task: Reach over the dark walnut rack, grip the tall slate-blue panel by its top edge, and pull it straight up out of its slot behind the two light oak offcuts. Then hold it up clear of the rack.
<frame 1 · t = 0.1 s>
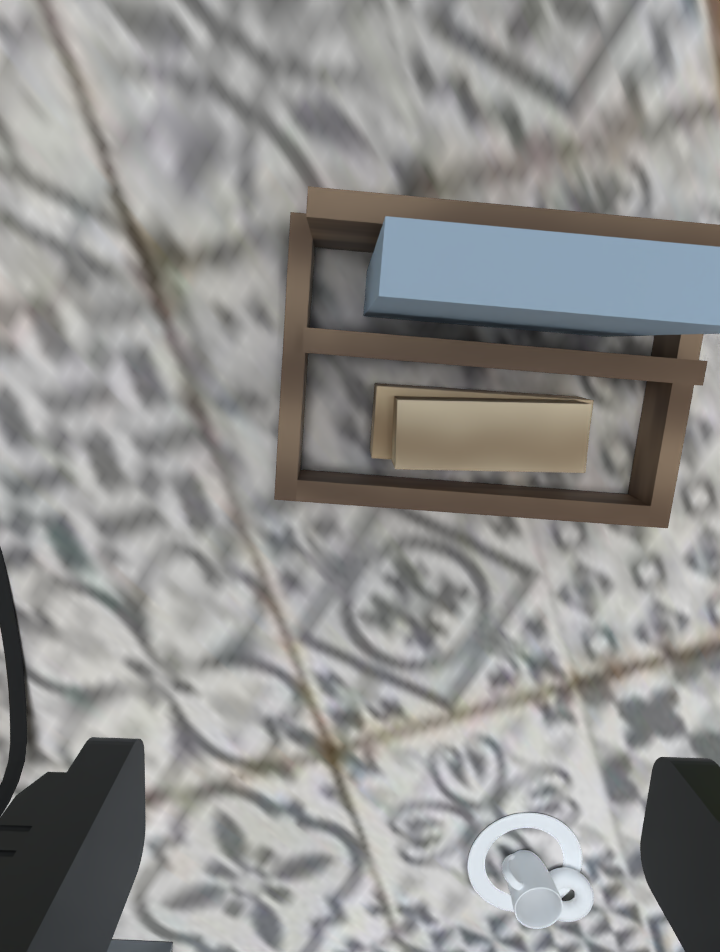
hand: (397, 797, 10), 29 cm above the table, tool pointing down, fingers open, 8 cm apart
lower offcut: (471, 422, 39), on the table
upper offcut: (482, 430, 36), point 3 cm above the table
teacup and saucer: (514, 892, 46), on the table
rack: (478, 373, 38), on the table
tall panel: (486, 304, 37), on the table
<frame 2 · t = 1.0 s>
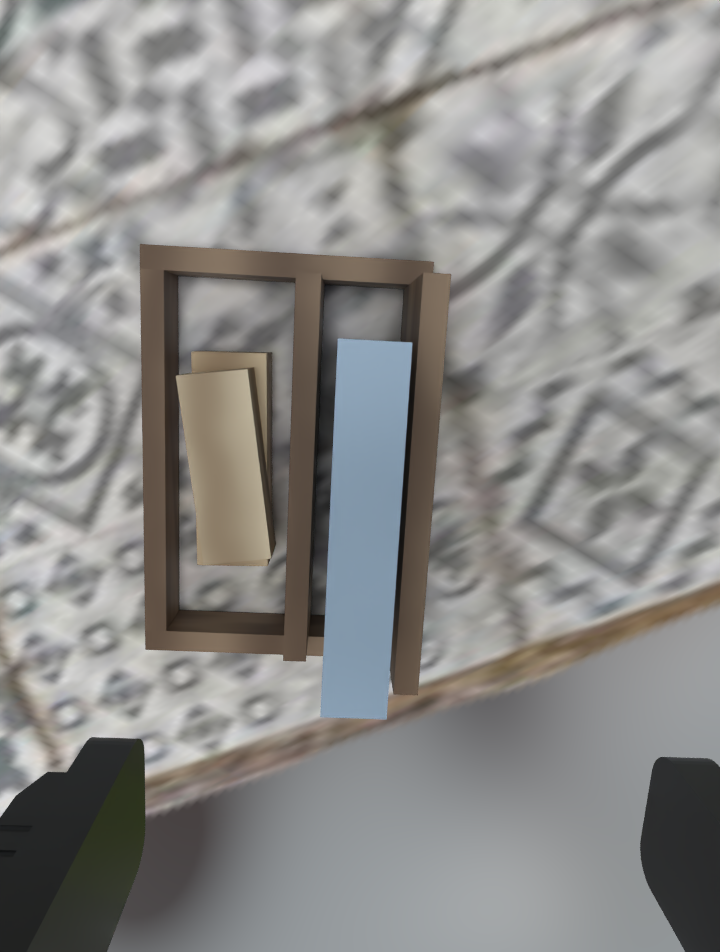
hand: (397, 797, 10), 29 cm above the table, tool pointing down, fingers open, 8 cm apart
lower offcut: (239, 453, 39), on the table, touching upper offcut
upper offcut: (232, 461, 36), point 3 cm above the table, touching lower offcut
rack: (288, 457, 38), on the table
tall panel: (355, 460, 39), on the table
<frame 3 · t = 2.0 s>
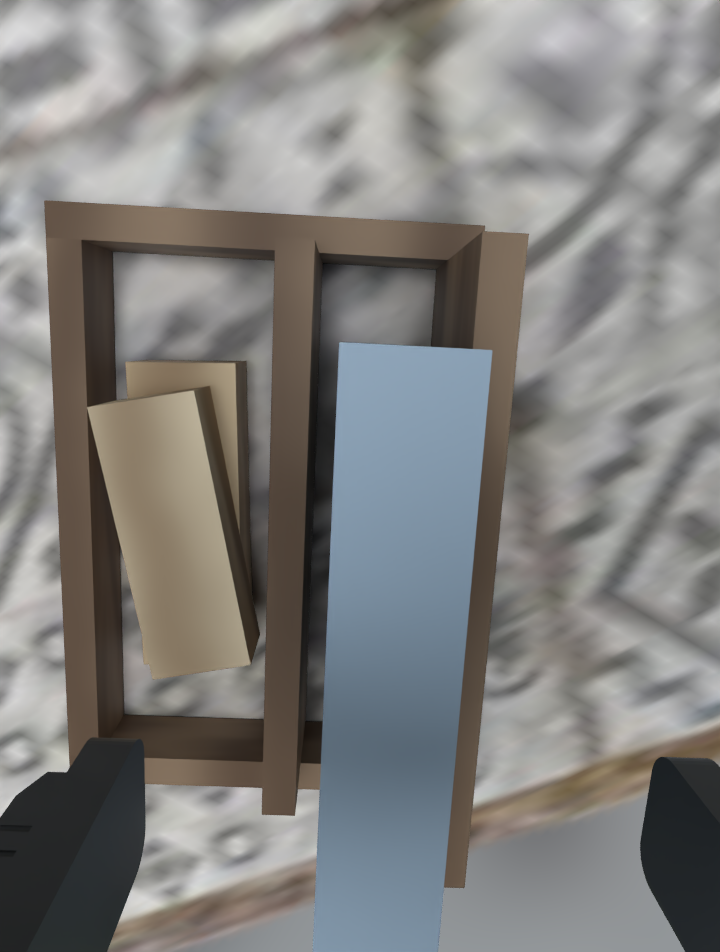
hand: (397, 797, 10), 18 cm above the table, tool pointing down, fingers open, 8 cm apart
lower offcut: (204, 502, 28), on the table, touching upper offcut
upper offcut: (189, 522, 25), point 3 cm above the table, touching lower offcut
rack: (273, 507, 27), on the table
tall panel: (366, 511, 28), on the table
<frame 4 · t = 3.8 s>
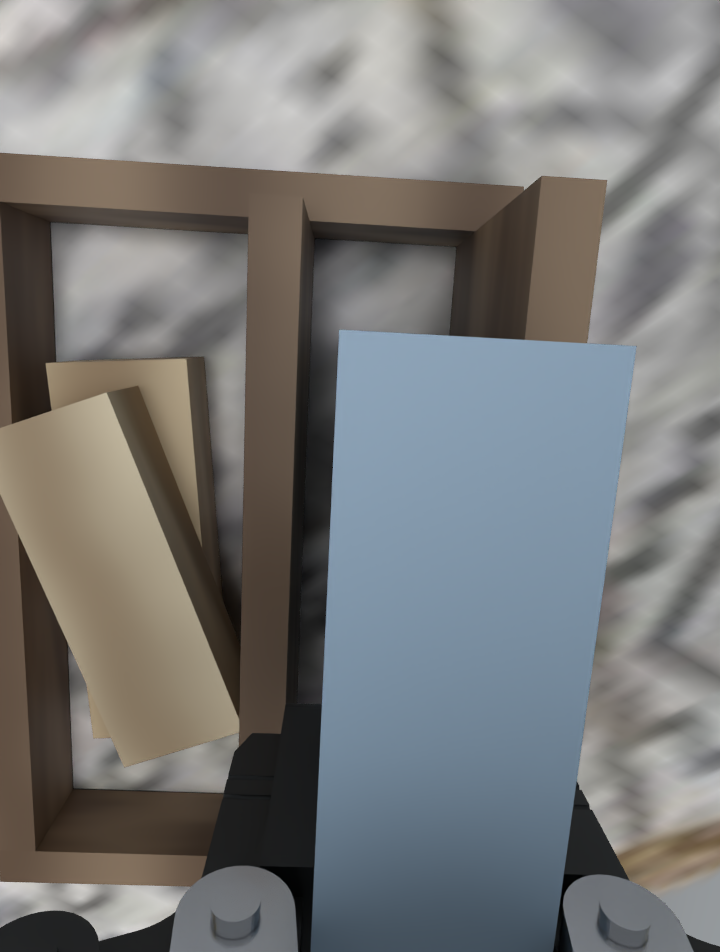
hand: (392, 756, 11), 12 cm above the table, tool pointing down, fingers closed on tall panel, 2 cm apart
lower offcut: (163, 531, 23), on the table, touching upper offcut
upper offcut: (144, 560, 20), point 2 cm above the table, touching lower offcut
rack: (253, 540, 22), on the table
tall panel: (368, 545, 22), on the table, touching gripper
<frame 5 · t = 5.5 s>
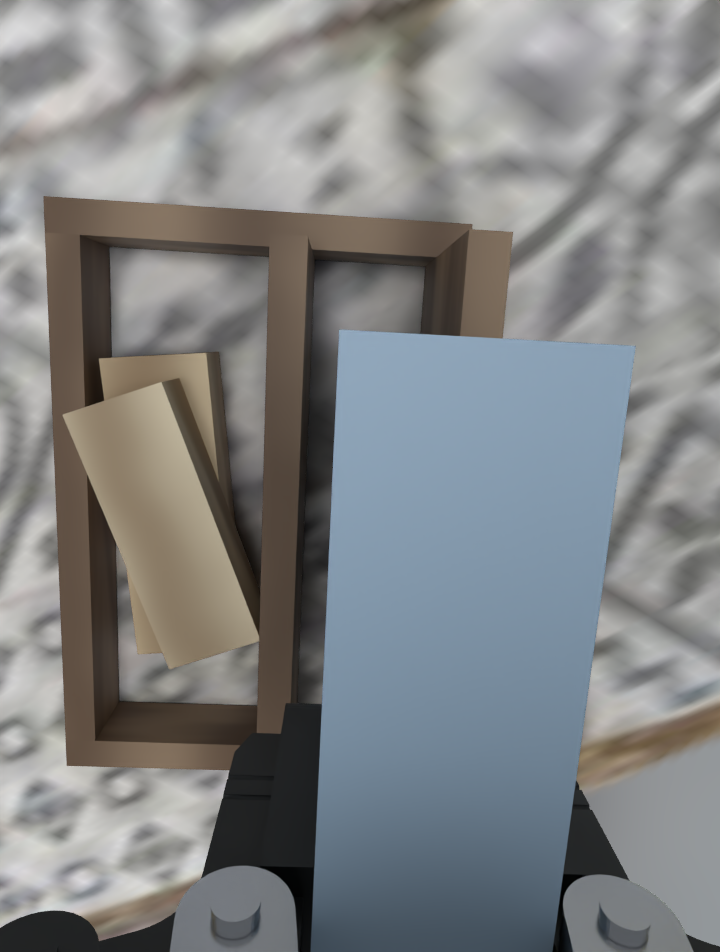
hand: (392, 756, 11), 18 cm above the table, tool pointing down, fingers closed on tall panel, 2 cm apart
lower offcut: (187, 493, 28), on the table, touching upper offcut
upper offcut: (182, 514, 25), point 3 cm above the table, touching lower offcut
rack: (266, 497, 28), on the table
tall panel: (368, 545, 22), point 6 cm above the table, touching gripper
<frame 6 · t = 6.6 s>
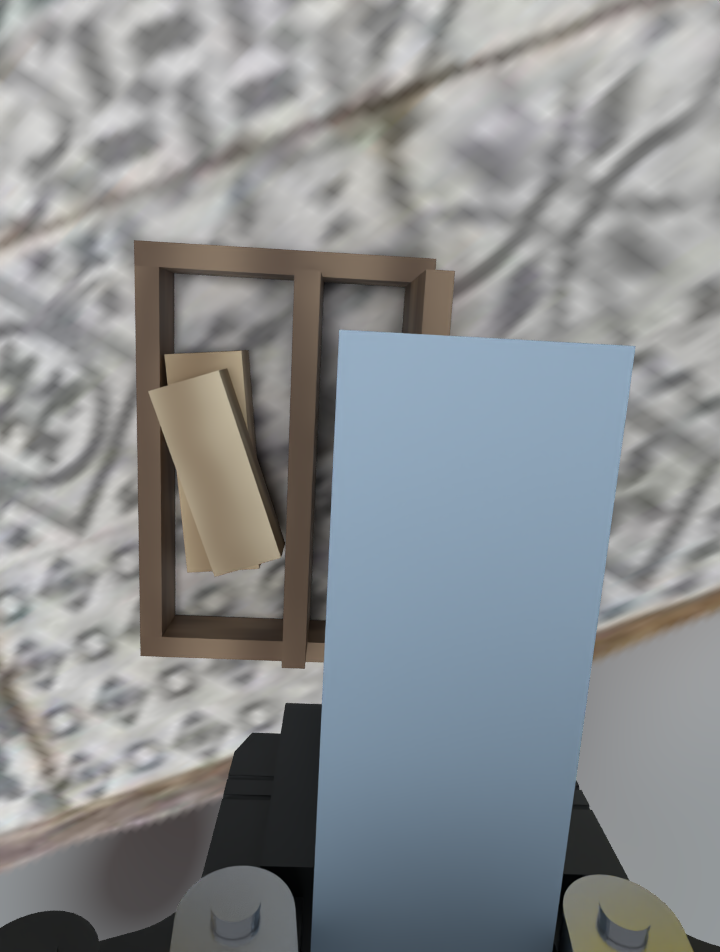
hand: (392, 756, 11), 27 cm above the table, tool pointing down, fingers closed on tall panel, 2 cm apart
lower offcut: (223, 455, 38), on the table
upper offcut: (225, 467, 35), point 3 cm above the table
rack: (287, 458, 38), on the table
tall panel: (367, 545, 22), point 16 cm above the table, touching gripper
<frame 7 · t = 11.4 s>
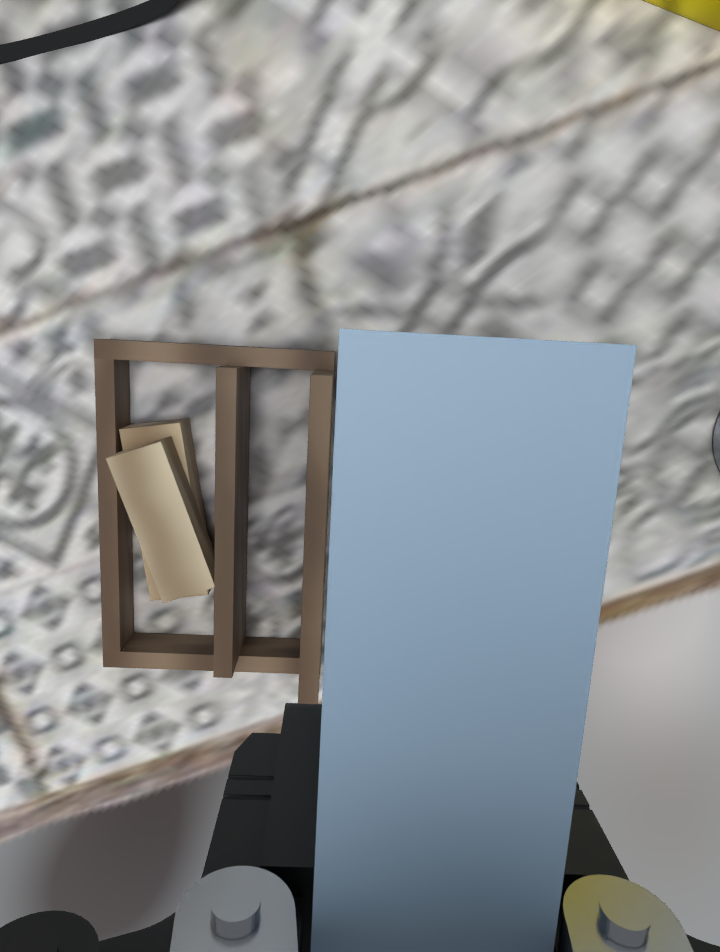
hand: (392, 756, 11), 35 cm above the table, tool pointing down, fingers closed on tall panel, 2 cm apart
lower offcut: (176, 503, 46), on the table
upper offcut: (172, 514, 43), point 3 cm above the table
rack: (223, 505, 46), on the table
tall panel: (368, 545, 22), point 23 cm above the table, touching gripper
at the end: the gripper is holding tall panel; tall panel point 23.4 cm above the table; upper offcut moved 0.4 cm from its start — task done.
